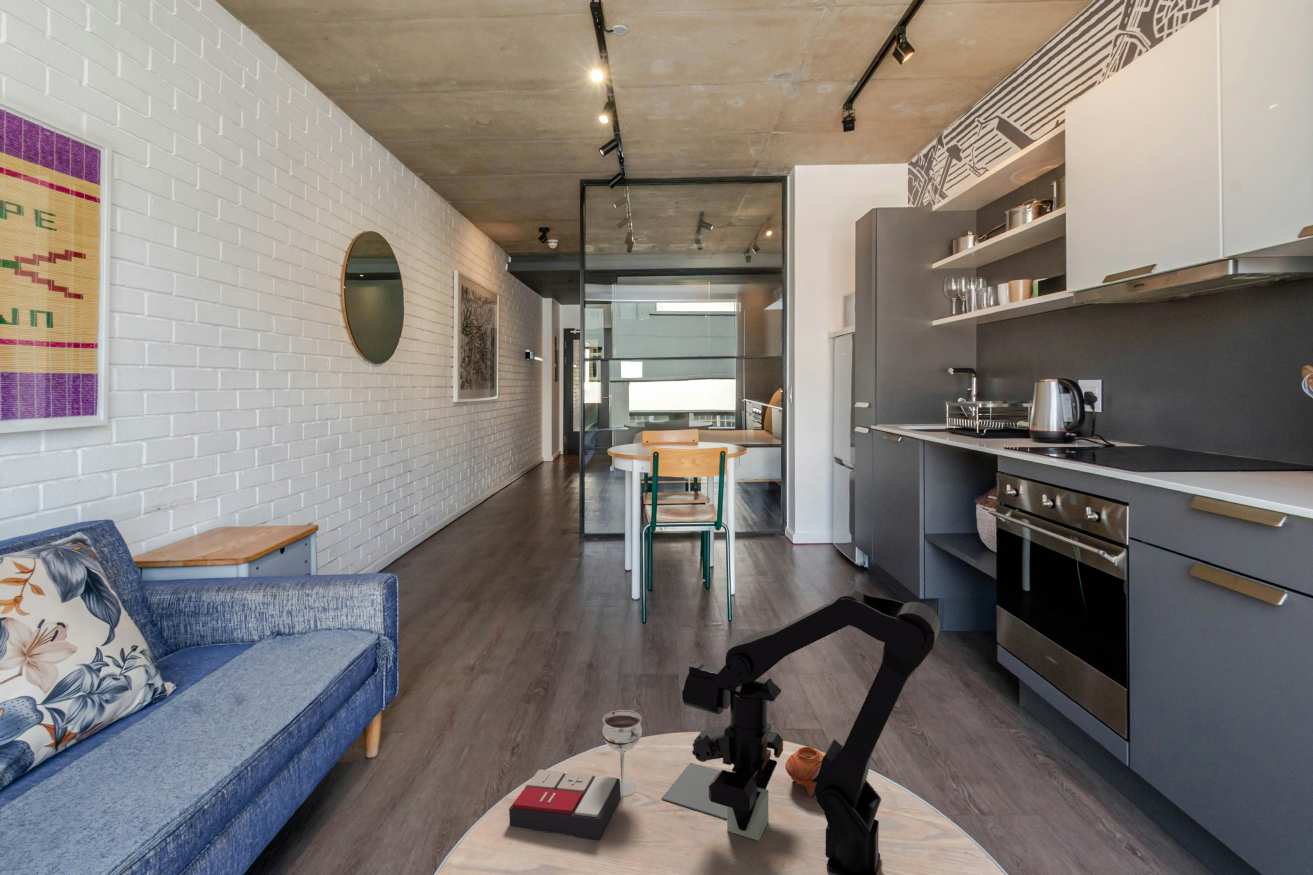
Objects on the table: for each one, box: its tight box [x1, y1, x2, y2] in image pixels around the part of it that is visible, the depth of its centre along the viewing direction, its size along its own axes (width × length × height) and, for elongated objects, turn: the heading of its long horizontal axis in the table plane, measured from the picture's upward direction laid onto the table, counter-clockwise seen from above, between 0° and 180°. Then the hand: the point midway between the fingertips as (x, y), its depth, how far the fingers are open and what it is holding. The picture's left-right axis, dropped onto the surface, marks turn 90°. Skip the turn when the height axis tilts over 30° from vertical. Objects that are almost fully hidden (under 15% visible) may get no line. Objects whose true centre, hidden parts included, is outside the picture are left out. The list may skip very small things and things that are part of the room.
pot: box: [784, 746, 825, 797], centre depth 106 cm, size 8×8×7 cm
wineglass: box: [602, 709, 643, 798], centre depth 105 cm, size 7×7×12 cm
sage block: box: [726, 787, 770, 842], centre depth 95 cm, size 5×5×5 cm
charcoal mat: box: [661, 762, 727, 820], centre depth 105 cm, size 12×12×1 cm
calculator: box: [508, 769, 622, 842], centre depth 99 cm, size 11×4×15 cm
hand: (748, 819), depth 95 cm, fingers closed on sage block, 5 cm apart
